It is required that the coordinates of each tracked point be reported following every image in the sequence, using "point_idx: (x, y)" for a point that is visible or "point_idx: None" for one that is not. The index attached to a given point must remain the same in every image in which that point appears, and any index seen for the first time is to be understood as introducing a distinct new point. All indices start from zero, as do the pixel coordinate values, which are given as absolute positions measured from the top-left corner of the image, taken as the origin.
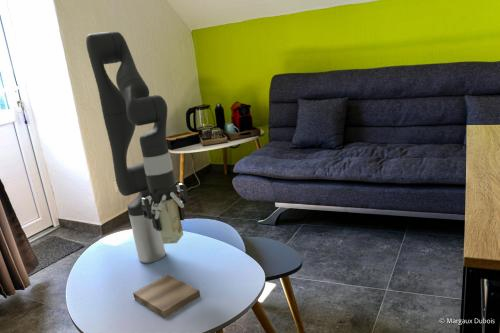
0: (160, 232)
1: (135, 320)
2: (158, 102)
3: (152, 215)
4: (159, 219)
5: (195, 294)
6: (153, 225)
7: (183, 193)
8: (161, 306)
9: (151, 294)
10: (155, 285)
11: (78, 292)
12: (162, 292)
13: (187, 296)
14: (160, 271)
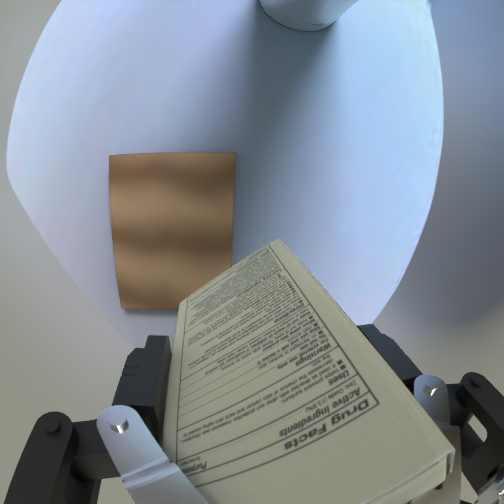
0: (173, 344)
1: (77, 248)
2: None
3: (106, 470)
4: None
5: None
6: (124, 375)
7: (472, 481)
8: (126, 287)
9: (135, 214)
10: (170, 178)
11: (68, 10)
12: (161, 233)
13: None
14: (254, 84)
